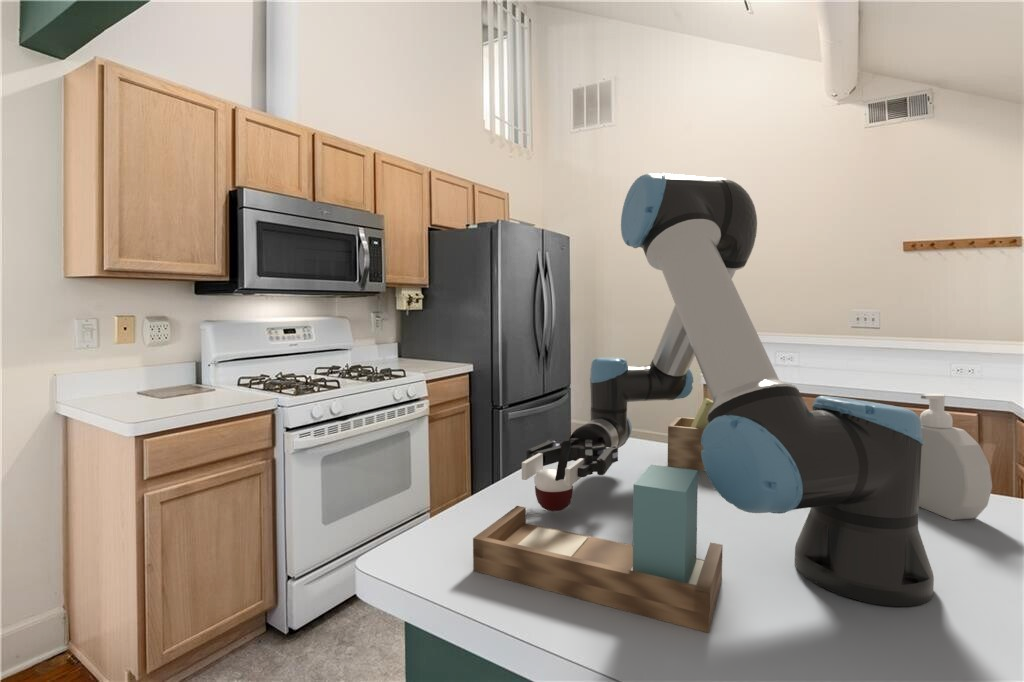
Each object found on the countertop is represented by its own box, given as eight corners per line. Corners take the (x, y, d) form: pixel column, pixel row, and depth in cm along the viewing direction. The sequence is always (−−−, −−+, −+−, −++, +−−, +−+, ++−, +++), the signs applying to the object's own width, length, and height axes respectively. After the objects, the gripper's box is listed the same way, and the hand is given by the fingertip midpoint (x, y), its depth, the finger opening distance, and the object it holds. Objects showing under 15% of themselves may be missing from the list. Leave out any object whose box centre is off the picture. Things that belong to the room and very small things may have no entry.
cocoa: (534, 501, 92) (529, 432, 91) (570, 498, 92) (565, 430, 92) (539, 520, 82) (533, 443, 82) (579, 517, 82) (573, 440, 82)
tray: (721, 578, 69) (722, 544, 68) (708, 632, 57) (709, 592, 57) (517, 534, 83) (516, 505, 82) (473, 570, 71) (473, 538, 71)
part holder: (801, 468, 115) (802, 427, 115) (802, 483, 105) (803, 439, 105) (677, 453, 128) (677, 416, 127) (667, 466, 118) (668, 426, 117)
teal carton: (696, 561, 69) (697, 470, 68) (684, 594, 61) (685, 492, 60) (648, 551, 72) (649, 464, 71) (631, 581, 64) (632, 484, 63)
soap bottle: (879, 492, 100) (883, 388, 99) (904, 490, 101) (908, 387, 100) (963, 526, 85) (969, 403, 83) (991, 524, 85) (997, 402, 84)
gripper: (644, 467, 98) (606, 508, 78) (547, 455, 107) (490, 489, 87) (644, 427, 98) (606, 458, 77) (546, 418, 107) (490, 443, 86)
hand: (545, 474), depth 82 cm, fingers closed on cocoa, 7 cm apart
